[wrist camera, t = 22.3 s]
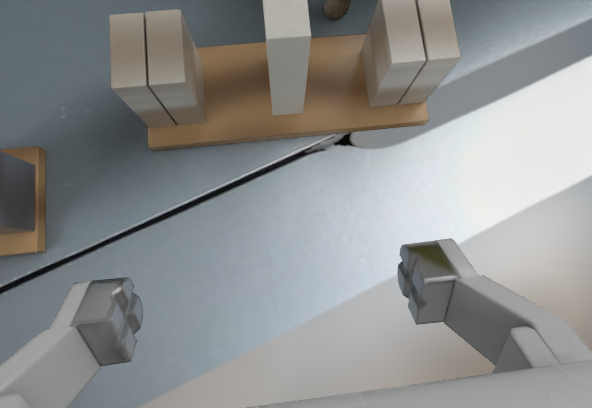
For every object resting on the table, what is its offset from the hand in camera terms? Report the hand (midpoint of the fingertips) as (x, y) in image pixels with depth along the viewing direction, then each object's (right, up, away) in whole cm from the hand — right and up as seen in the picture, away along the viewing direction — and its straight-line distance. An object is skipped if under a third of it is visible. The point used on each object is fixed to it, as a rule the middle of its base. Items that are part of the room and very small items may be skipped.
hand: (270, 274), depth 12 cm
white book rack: (0, +11, +20) cm, 23 cm away
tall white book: (0, +12, +19) cm, 22 cm away
